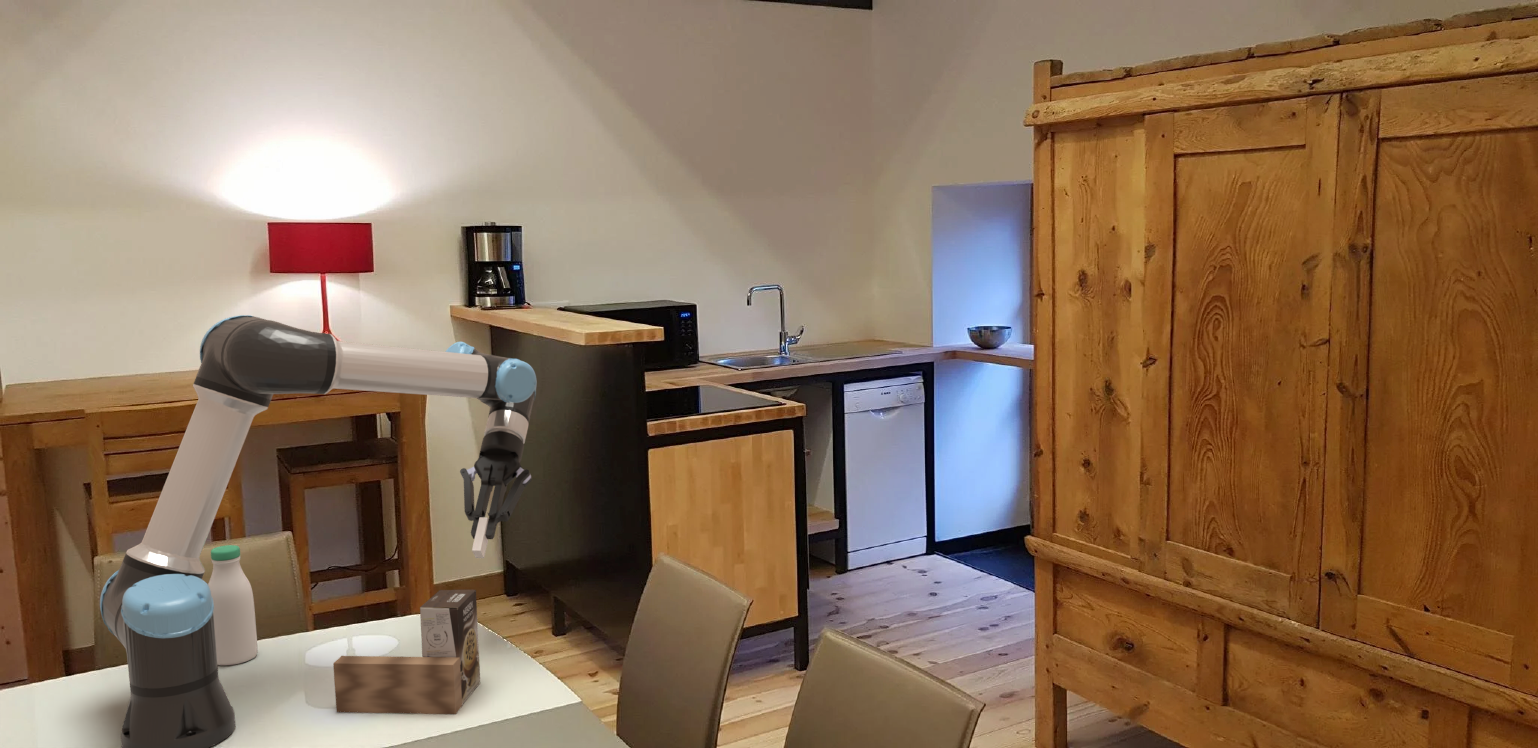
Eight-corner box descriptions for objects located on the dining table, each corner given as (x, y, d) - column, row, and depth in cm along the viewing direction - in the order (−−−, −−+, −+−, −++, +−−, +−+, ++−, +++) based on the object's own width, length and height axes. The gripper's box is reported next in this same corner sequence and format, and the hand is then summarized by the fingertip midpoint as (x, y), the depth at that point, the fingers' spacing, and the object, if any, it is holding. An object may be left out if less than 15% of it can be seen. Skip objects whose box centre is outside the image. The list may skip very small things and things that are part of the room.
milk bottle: (267, 655, 201) (258, 545, 198) (226, 670, 195) (217, 557, 192) (241, 646, 205) (232, 539, 202) (200, 661, 199) (191, 550, 196)
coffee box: (463, 706, 179) (457, 607, 177) (423, 705, 180) (417, 607, 177) (482, 682, 188) (477, 588, 186) (444, 681, 189) (439, 588, 186)
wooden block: (336, 712, 177) (333, 663, 176) (344, 704, 180) (341, 656, 179) (455, 714, 176) (453, 665, 175) (462, 705, 179) (459, 657, 178)
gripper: (542, 452, 212) (520, 565, 197) (474, 451, 213) (446, 564, 198) (534, 429, 206) (510, 544, 192) (464, 428, 207) (434, 542, 192)
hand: (478, 554), depth 195 cm, fingers closed
